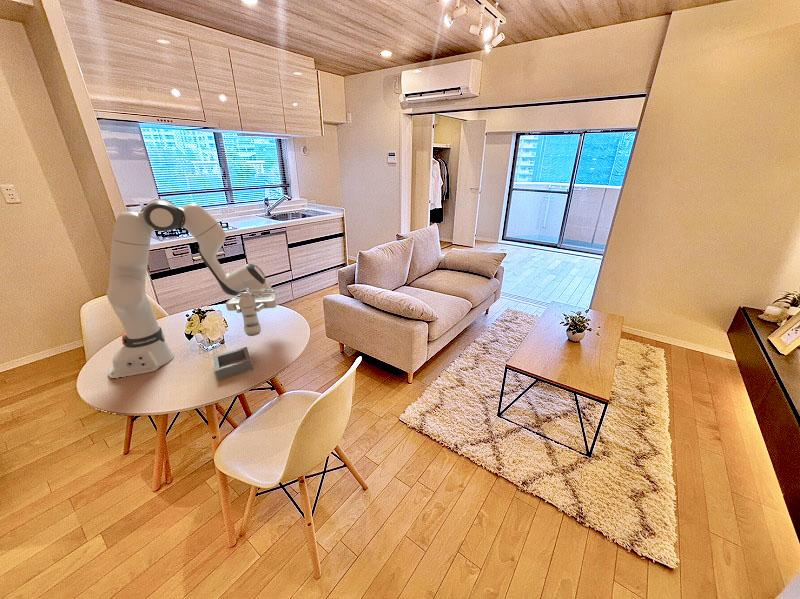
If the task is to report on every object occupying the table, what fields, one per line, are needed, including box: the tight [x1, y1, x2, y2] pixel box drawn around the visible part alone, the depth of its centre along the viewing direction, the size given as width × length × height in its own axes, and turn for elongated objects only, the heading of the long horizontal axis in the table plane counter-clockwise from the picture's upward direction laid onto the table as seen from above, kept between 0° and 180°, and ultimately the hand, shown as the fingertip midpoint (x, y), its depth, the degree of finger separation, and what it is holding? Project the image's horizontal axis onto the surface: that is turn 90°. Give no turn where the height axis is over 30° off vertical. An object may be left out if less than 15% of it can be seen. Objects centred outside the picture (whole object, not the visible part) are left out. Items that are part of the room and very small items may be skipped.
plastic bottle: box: [239, 289, 262, 337], centre depth 134 cm, size 6×7×20 cm
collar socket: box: [212, 346, 254, 381], centre depth 133 cm, size 13×12×4 cm
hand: (247, 310), depth 132 cm, fingers closed on plastic bottle, 6 cm apart
